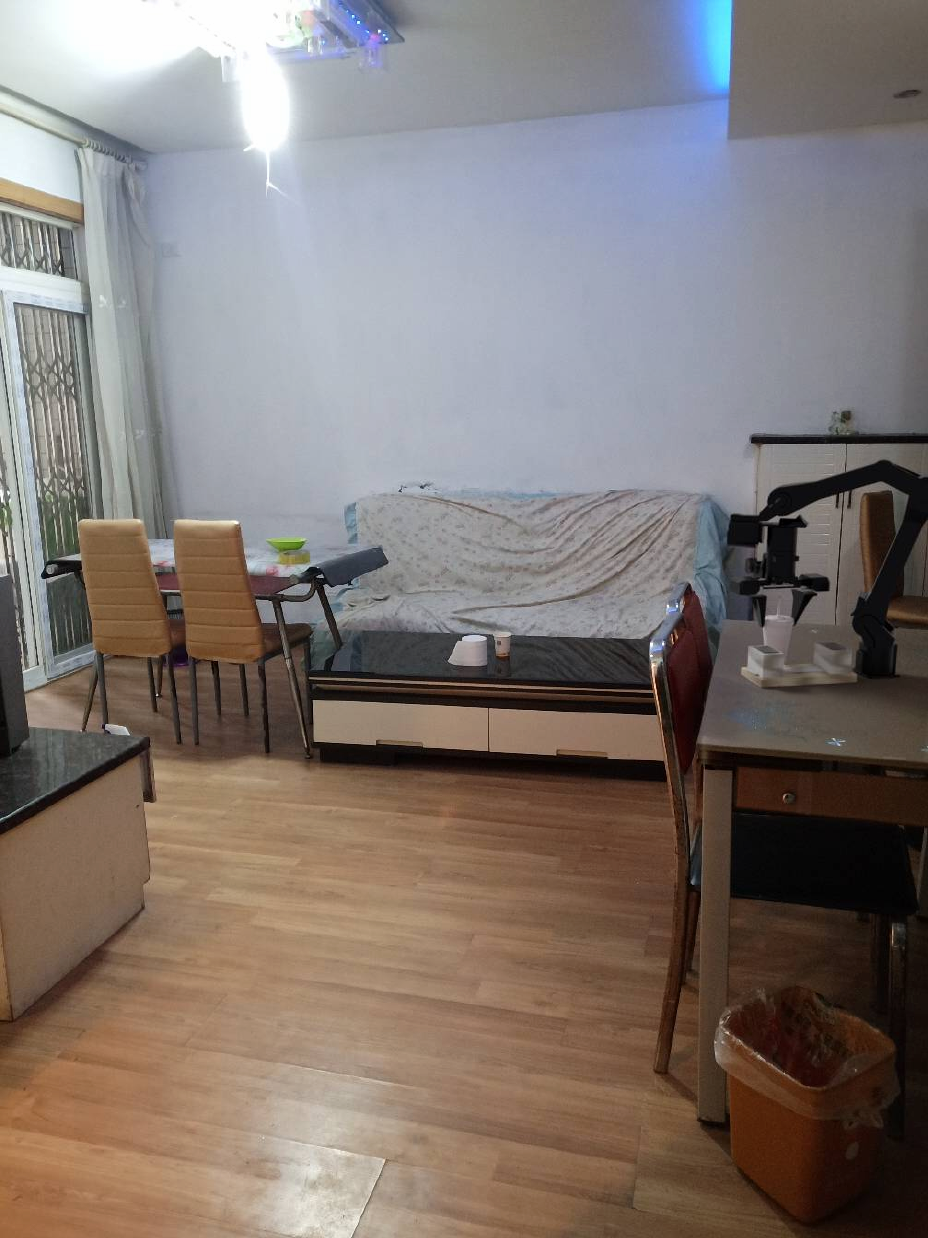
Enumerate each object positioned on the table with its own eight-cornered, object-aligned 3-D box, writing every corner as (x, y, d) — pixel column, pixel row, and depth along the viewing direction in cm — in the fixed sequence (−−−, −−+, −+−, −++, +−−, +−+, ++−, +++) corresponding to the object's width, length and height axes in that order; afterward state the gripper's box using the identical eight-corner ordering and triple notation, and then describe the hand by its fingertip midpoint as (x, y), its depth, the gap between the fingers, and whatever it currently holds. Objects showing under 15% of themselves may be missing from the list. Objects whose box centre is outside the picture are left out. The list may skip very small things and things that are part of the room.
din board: (833, 669, 193) (835, 639, 191) (856, 682, 184) (858, 650, 183) (741, 674, 191) (742, 644, 189) (760, 687, 182) (762, 655, 180)
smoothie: (795, 663, 198) (799, 595, 195) (787, 670, 193) (791, 601, 190) (763, 659, 201) (767, 592, 198) (754, 666, 196) (758, 598, 193)
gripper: (807, 541, 201) (802, 615, 204) (720, 545, 199) (717, 619, 202) (833, 549, 190) (828, 627, 193) (742, 553, 188) (739, 632, 191)
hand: (777, 626), depth 195 cm, fingers closed on smoothie, 6 cm apart
